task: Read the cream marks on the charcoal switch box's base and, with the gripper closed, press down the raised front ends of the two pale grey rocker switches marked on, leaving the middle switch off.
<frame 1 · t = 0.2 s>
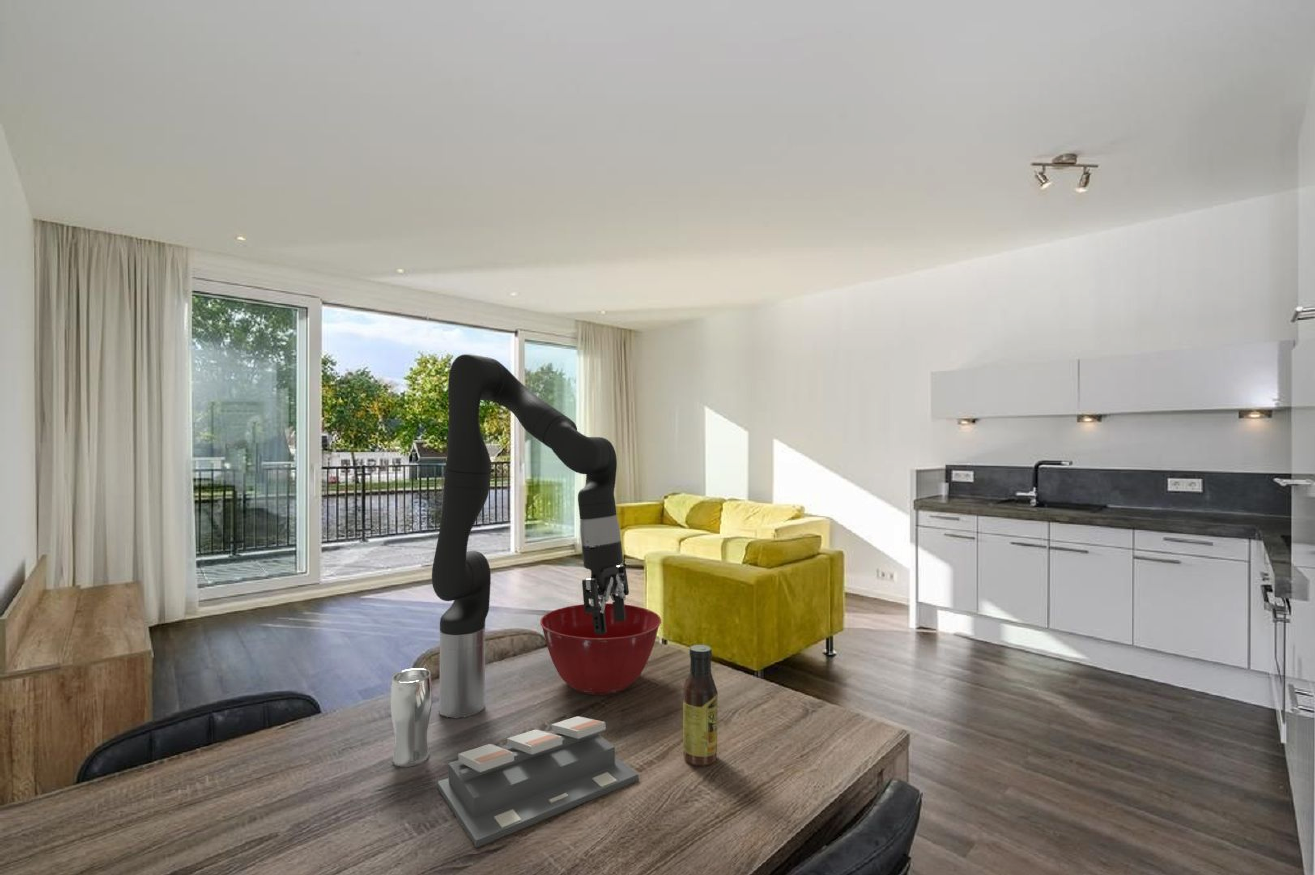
hand: (610, 627, 112), 22 cm above the table, tool pointing down, fingers open, 8 cm apart
switch box: (533, 778, 101), on the table
switch 2: (534, 741, 101), point 6 cm above the table, hinge at -15.0°
mixing bowl: (601, 684, 141), on the table
beer glass: (411, 759, 107), on the table
sauce bottle: (700, 759, 108), on the table
switch 3: (485, 756, 96), point 6 cm above the table, hinge at -15.0°
switch 1: (577, 726, 106), point 6 cm above the table, hinge at -15.0°
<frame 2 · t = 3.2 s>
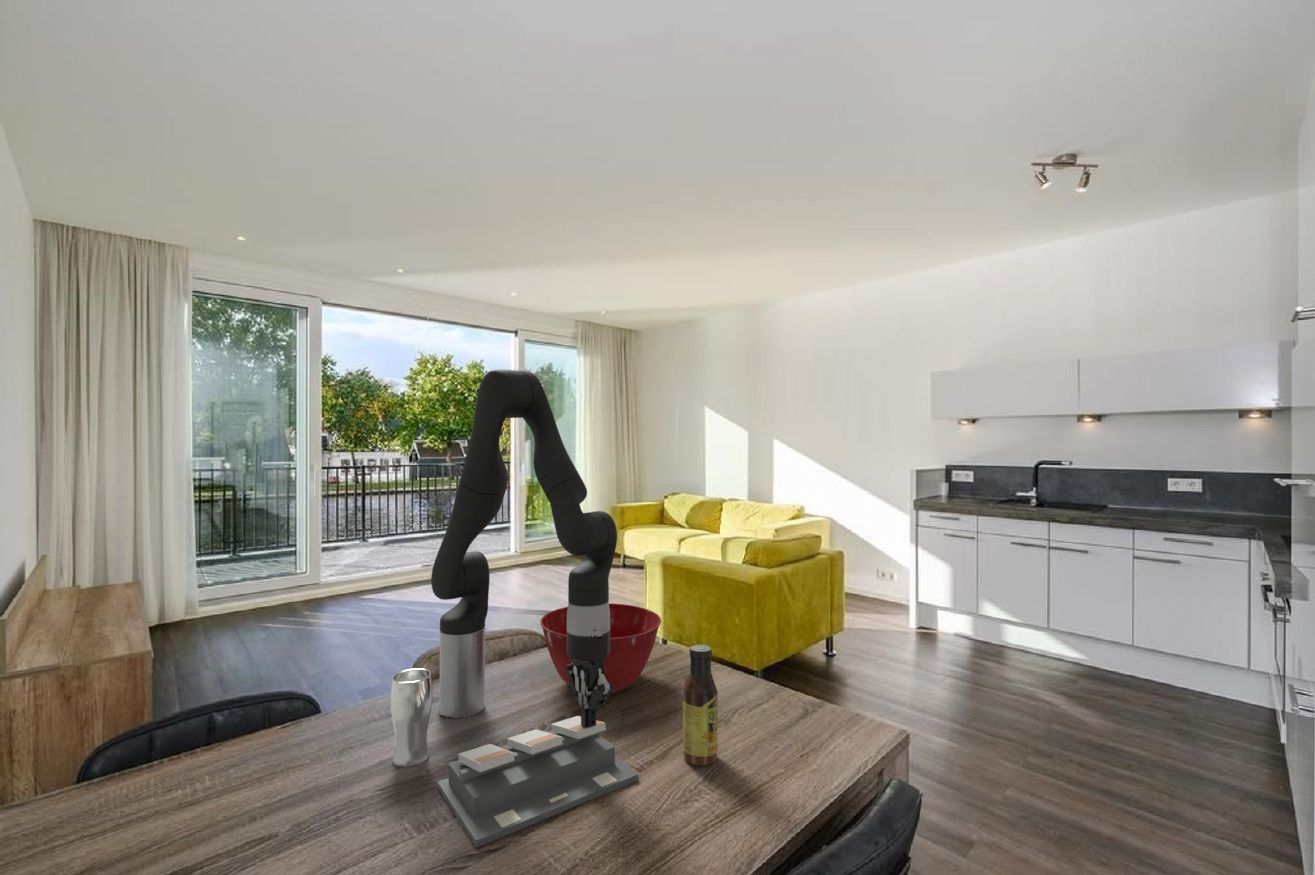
hand: (588, 727, 103), 8 cm above the table, tool pointing down, fingers closed
switch 1: (577, 726, 106), point 6 cm above the table, hinge at -14.2°, touching gripper
everything else where it was.
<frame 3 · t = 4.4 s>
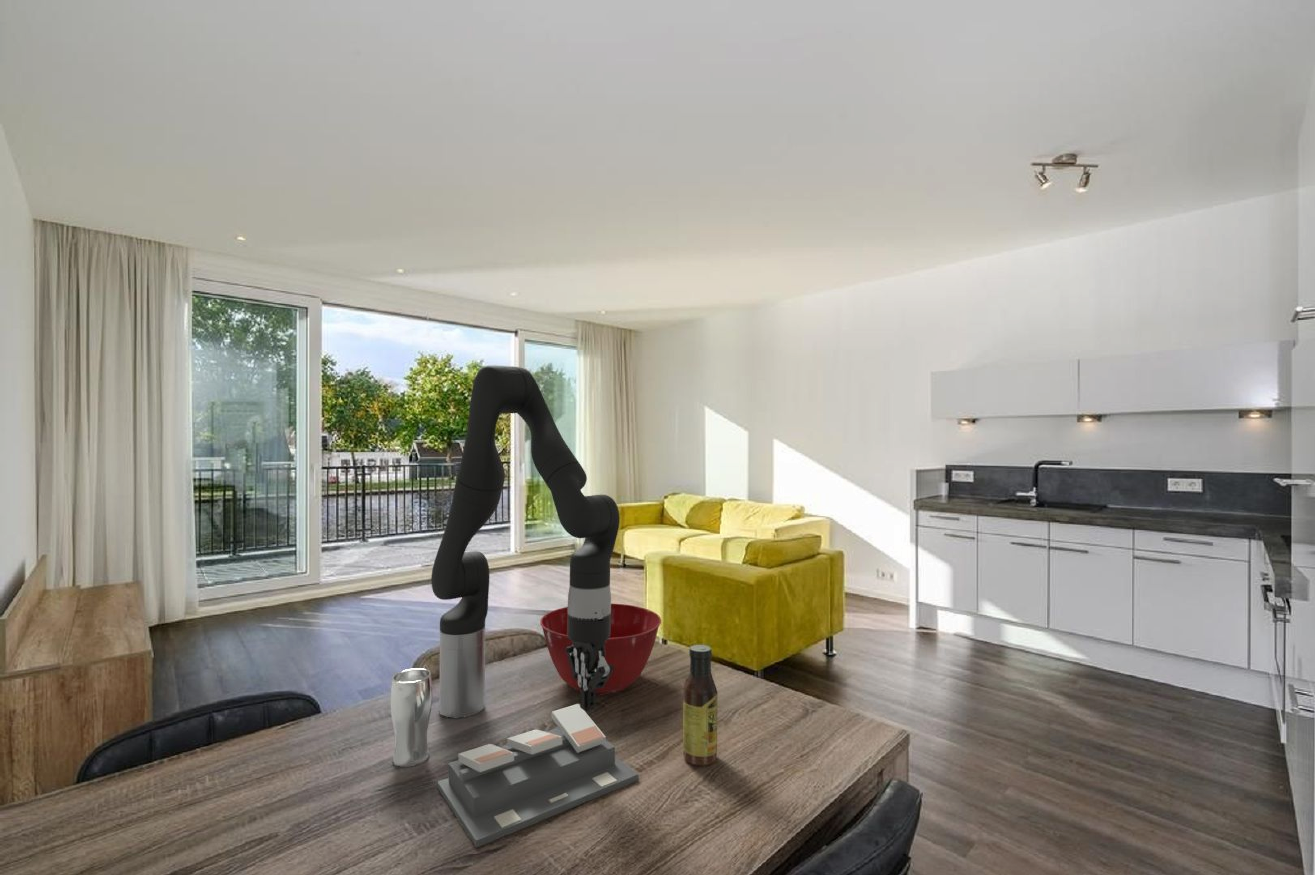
hand: (587, 708, 104), 11 cm above the table, tool pointing down, fingers closed
switch 1: (577, 726, 106), point 6 cm above the table, hinge at 13.6°
everything else where it was.
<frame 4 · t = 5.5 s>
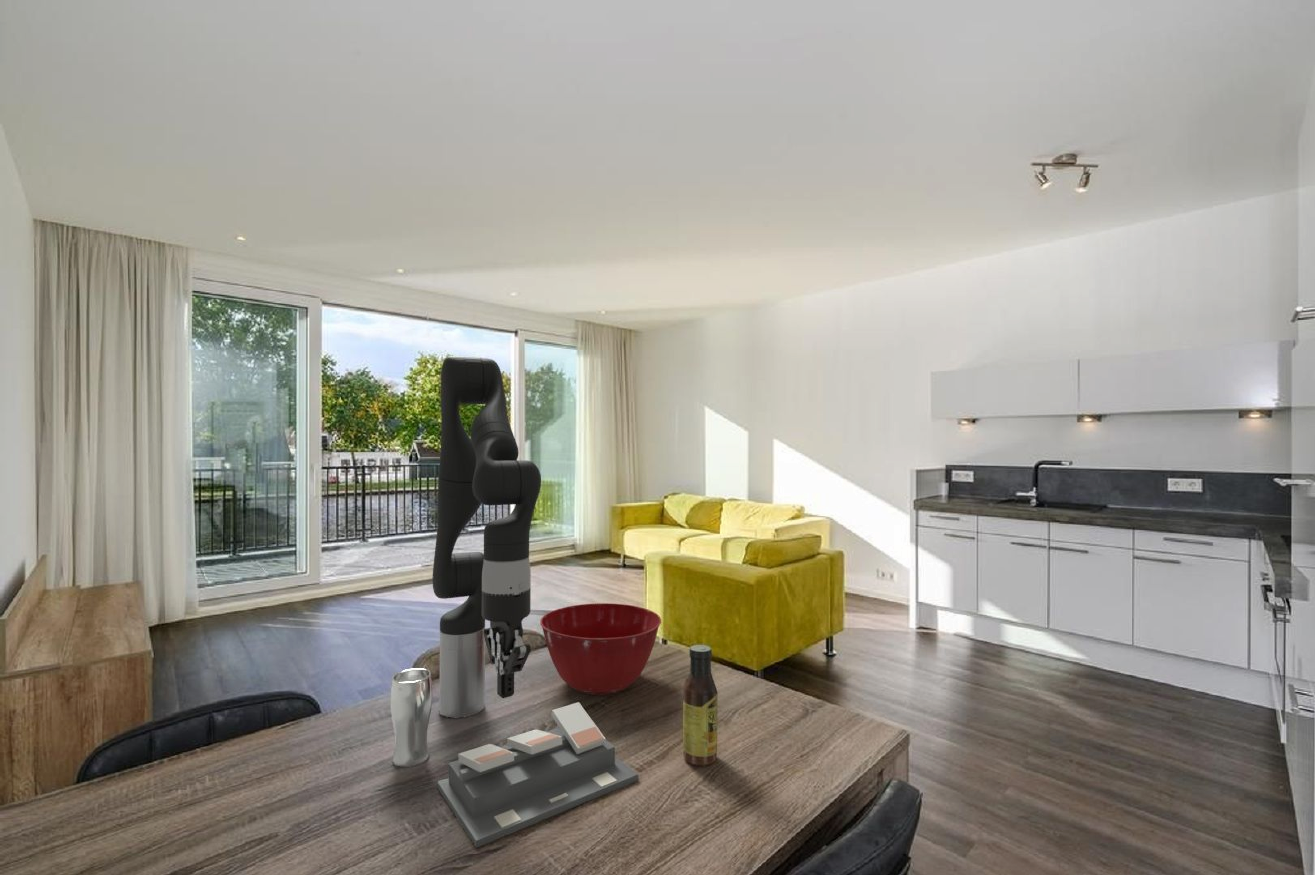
hand: (505, 695, 94), 17 cm above the table, tool pointing down, fingers closed
switch 1: (577, 726, 106), point 6 cm above the table, hinge at 17.4°
everything else where it was.
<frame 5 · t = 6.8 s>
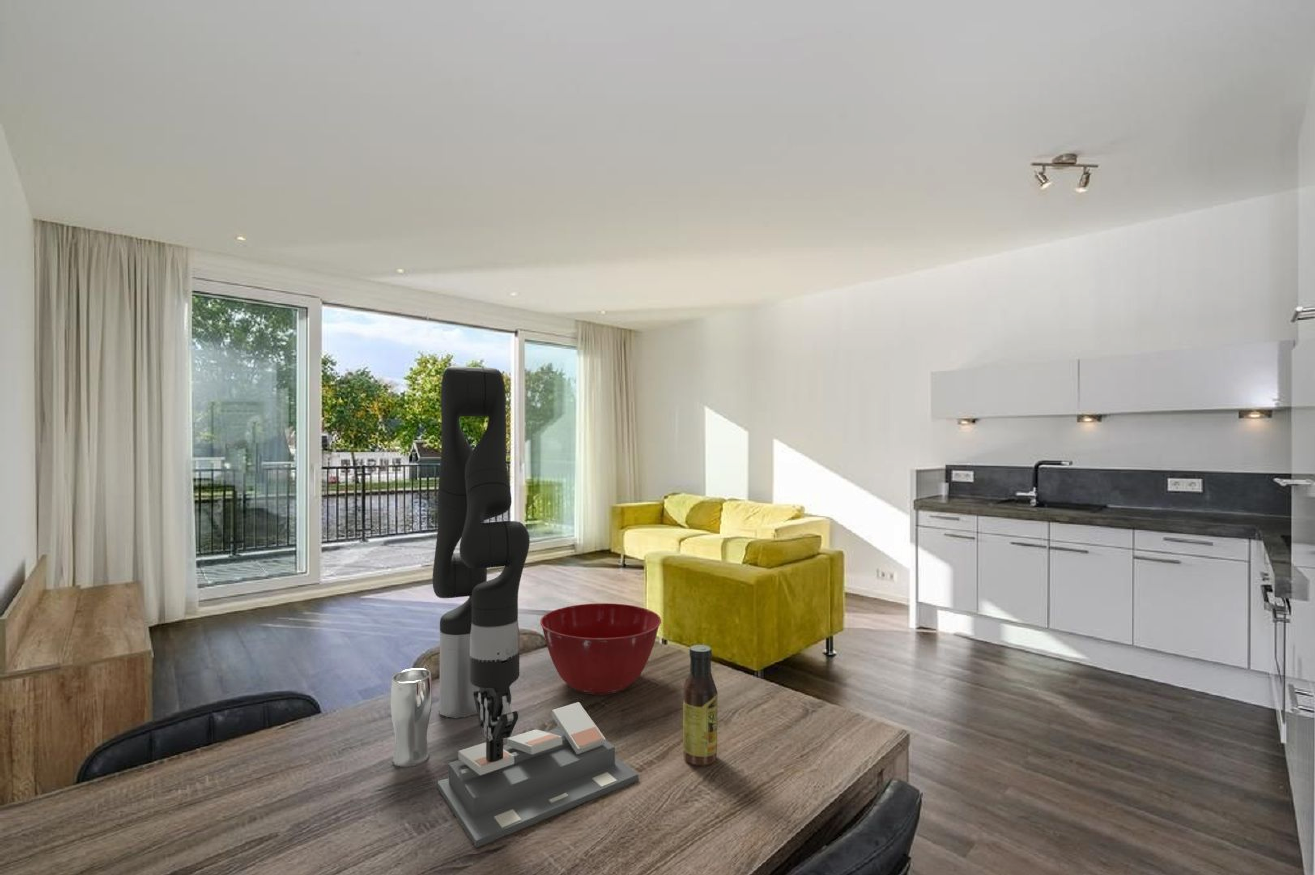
hand: (494, 761, 93), 7 cm above the table, tool pointing down, fingers closed
switch 3: (485, 756, 96), point 6 cm above the table, hinge at -9.7°, touching gripper
switch 1: (577, 726, 106), point 6 cm above the table, hinge at 18.0°
everything else where it was.
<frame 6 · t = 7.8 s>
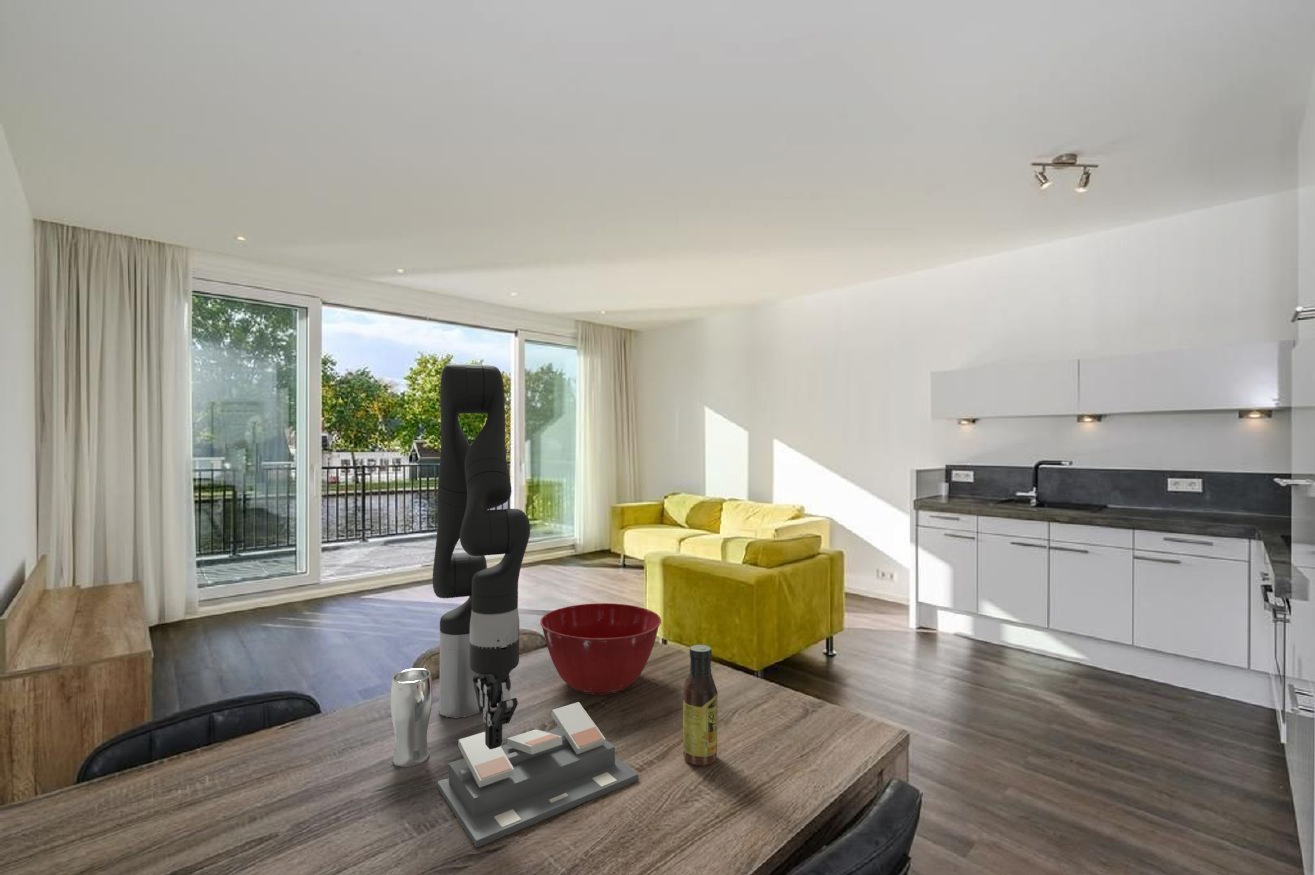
hand: (493, 746, 93), 9 cm above the table, tool pointing down, fingers closed
switch 3: (485, 757, 96), point 6 cm above the table, hinge at 13.5°
everything else where it was.
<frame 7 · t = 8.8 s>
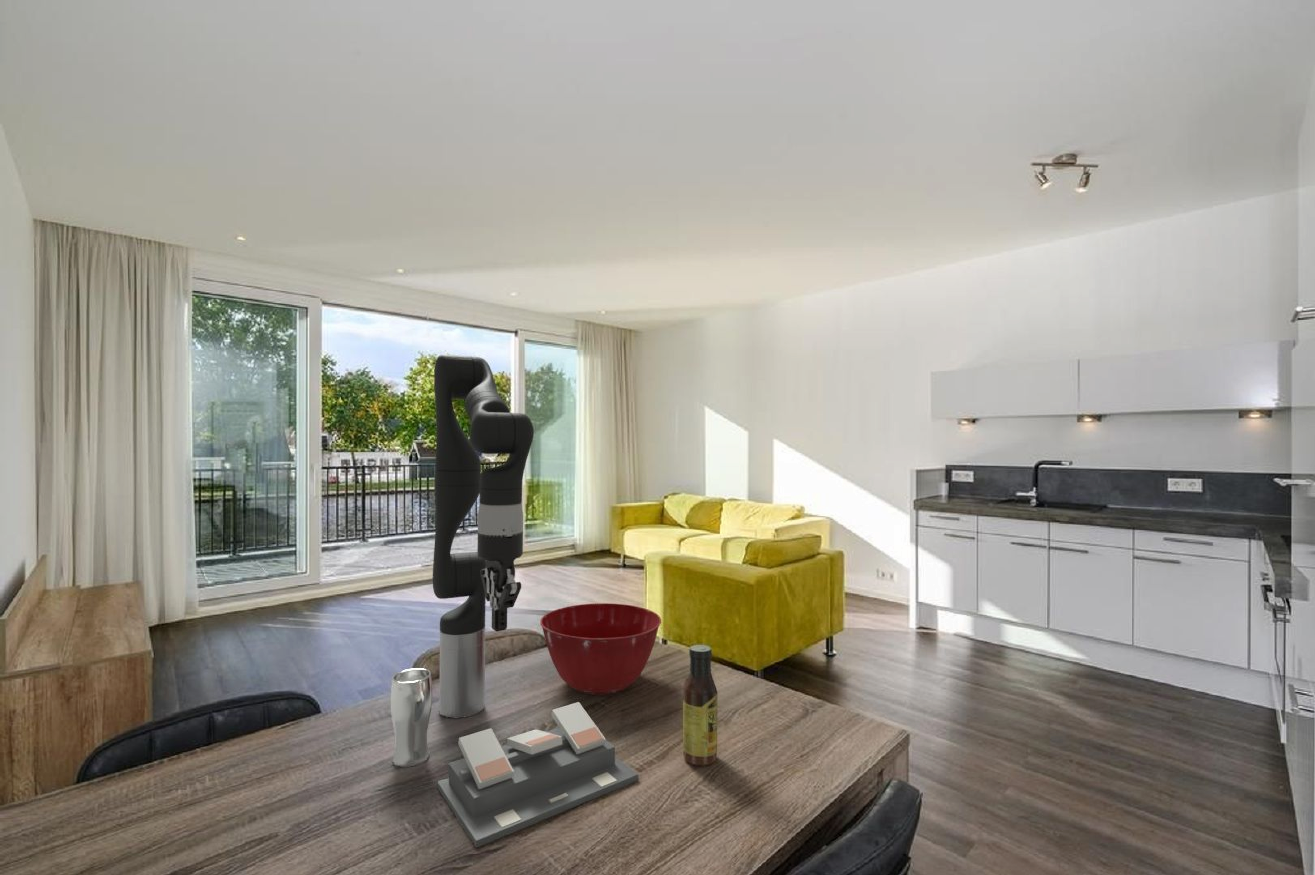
hand: (499, 629, 102), 25 cm above the table, tool pointing down, fingers closed
switch 3: (485, 757, 96), point 6 cm above the table, hinge at 17.7°
everything else where it was.
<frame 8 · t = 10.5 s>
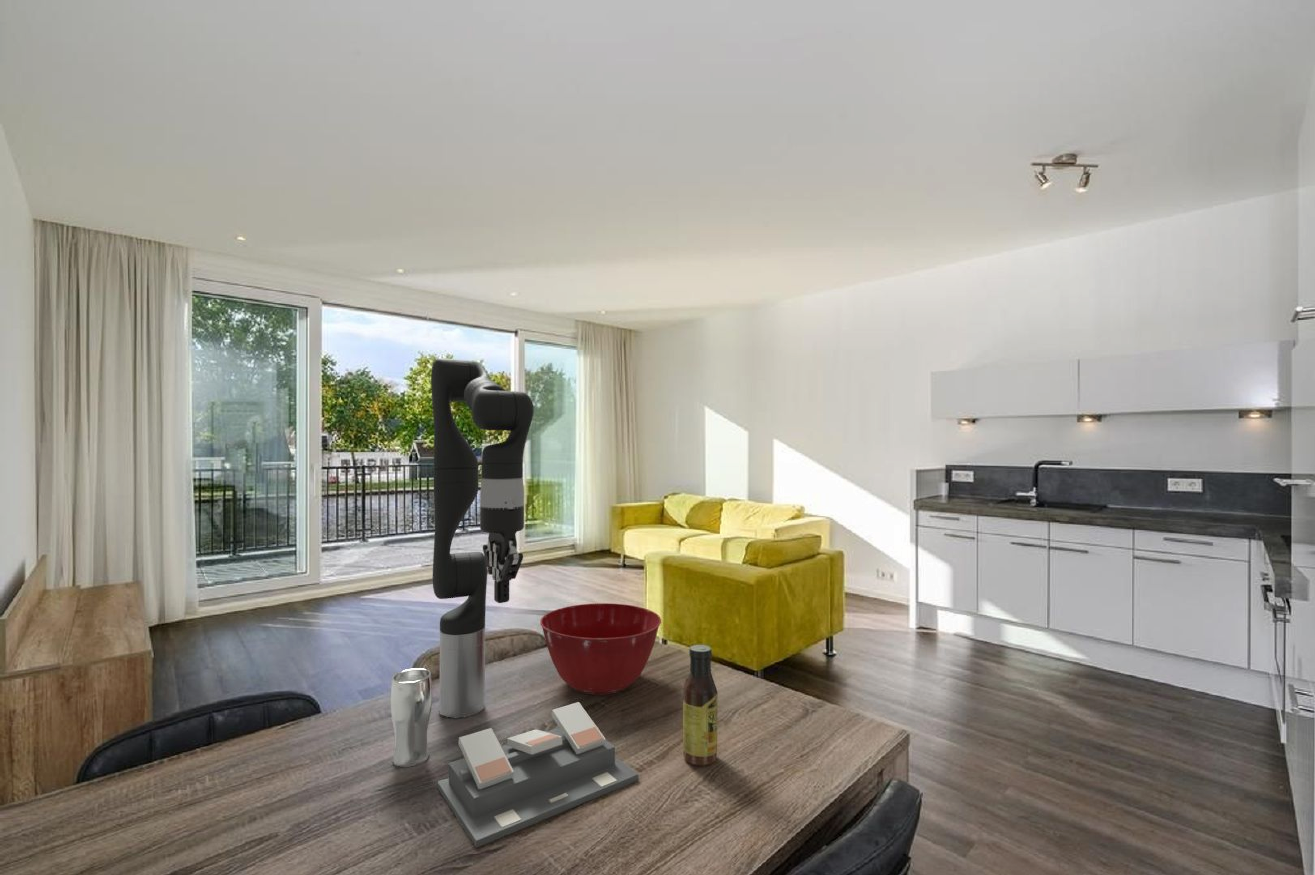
hand: (501, 601, 105), 29 cm above the table, tool pointing down, fingers closed
switch 3: (485, 757, 96), point 6 cm above the table, hinge at 18.5°
everything else where it was.
at the end: switch 1 at +18° (first picture: -15°); switch 3 at +18° (first picture: -15°); switch 2 at -15° (first picture: -15°) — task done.
